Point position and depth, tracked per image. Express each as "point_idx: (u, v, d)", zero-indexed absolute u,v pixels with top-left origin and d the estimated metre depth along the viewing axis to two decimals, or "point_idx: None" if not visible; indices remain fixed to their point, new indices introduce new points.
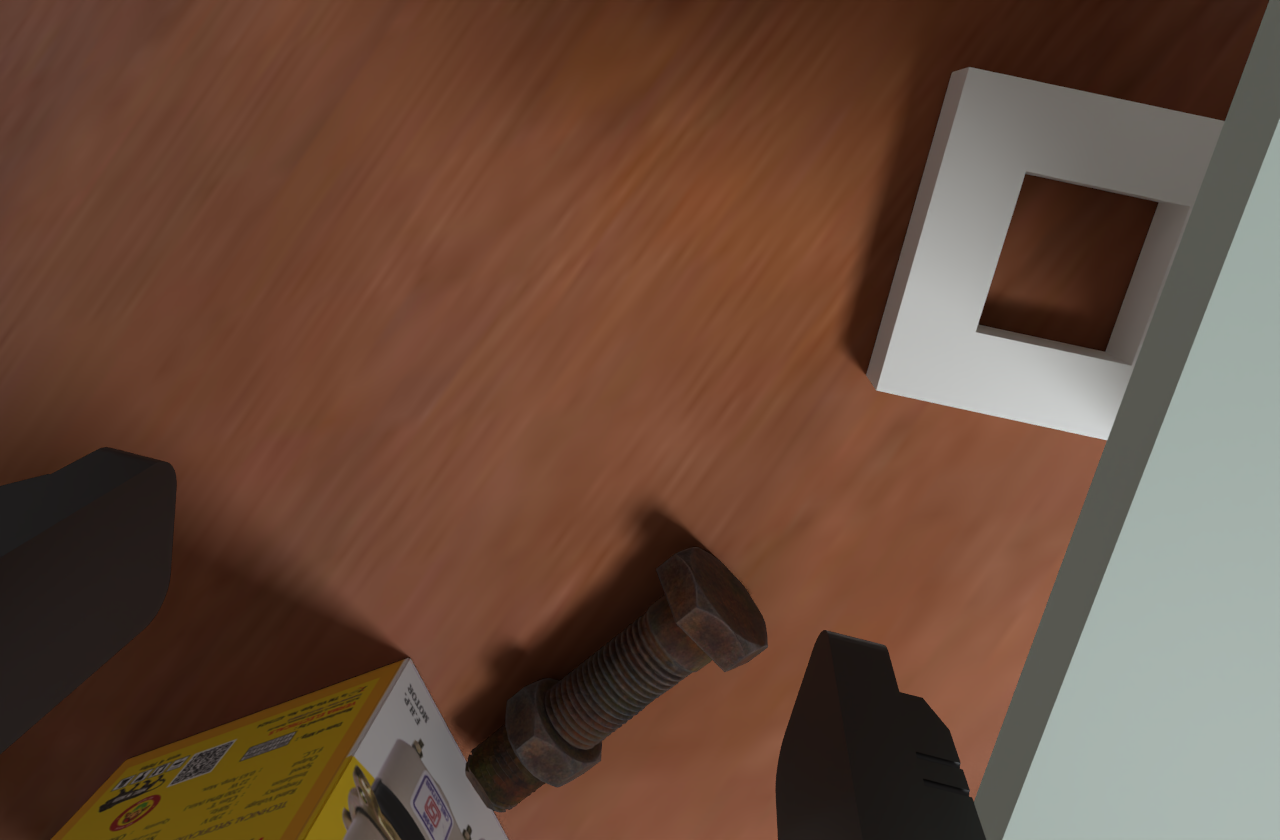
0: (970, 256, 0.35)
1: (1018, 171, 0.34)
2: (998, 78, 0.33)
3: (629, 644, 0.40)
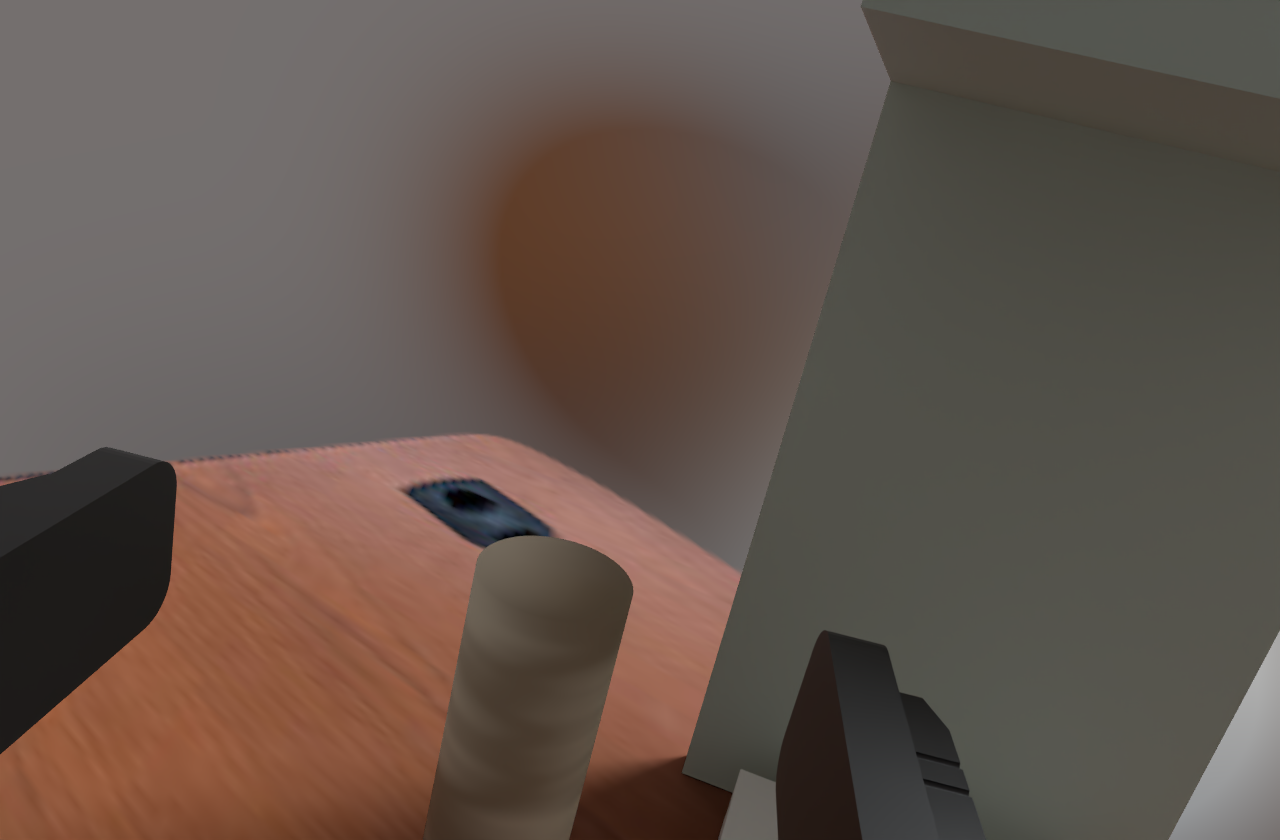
0: None
1: None
2: None
3: None
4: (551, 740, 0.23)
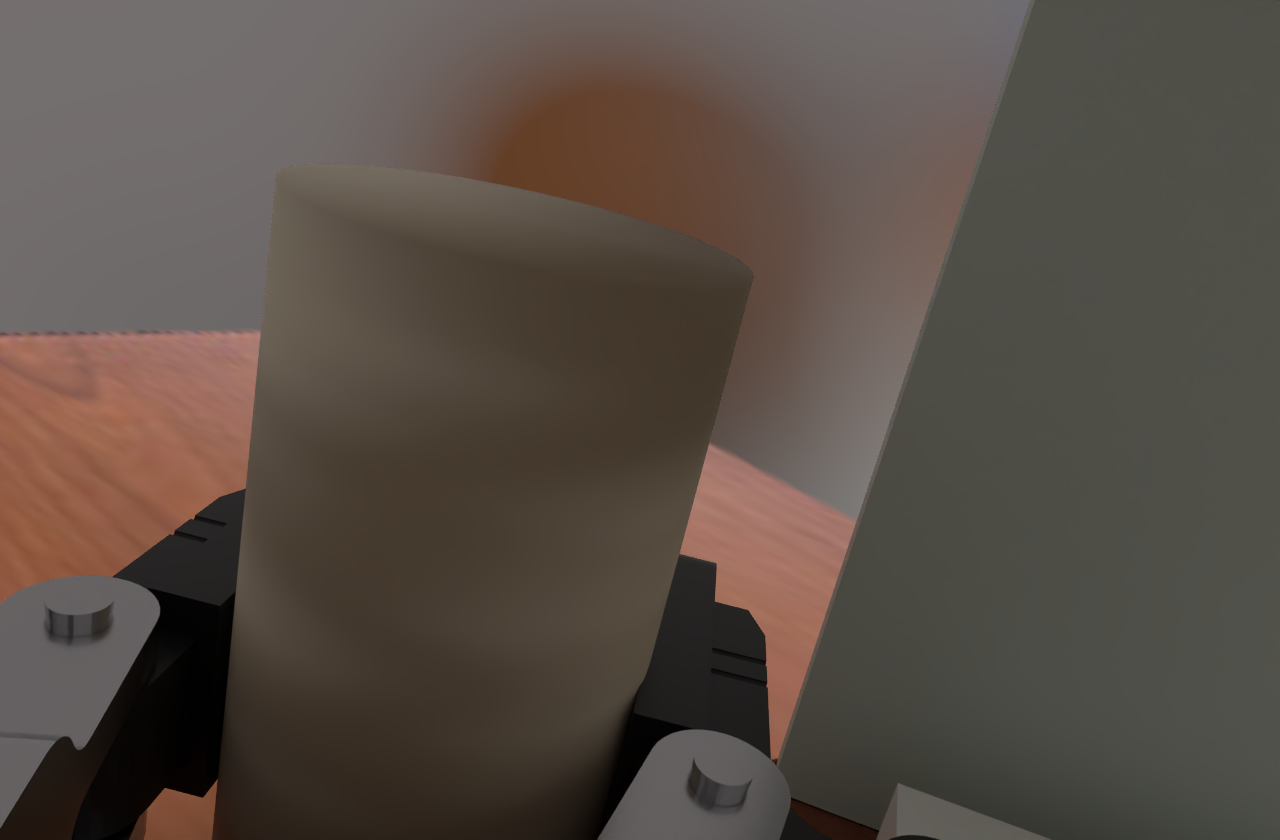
0: None
1: None
2: None
3: None
4: (515, 703, 0.08)
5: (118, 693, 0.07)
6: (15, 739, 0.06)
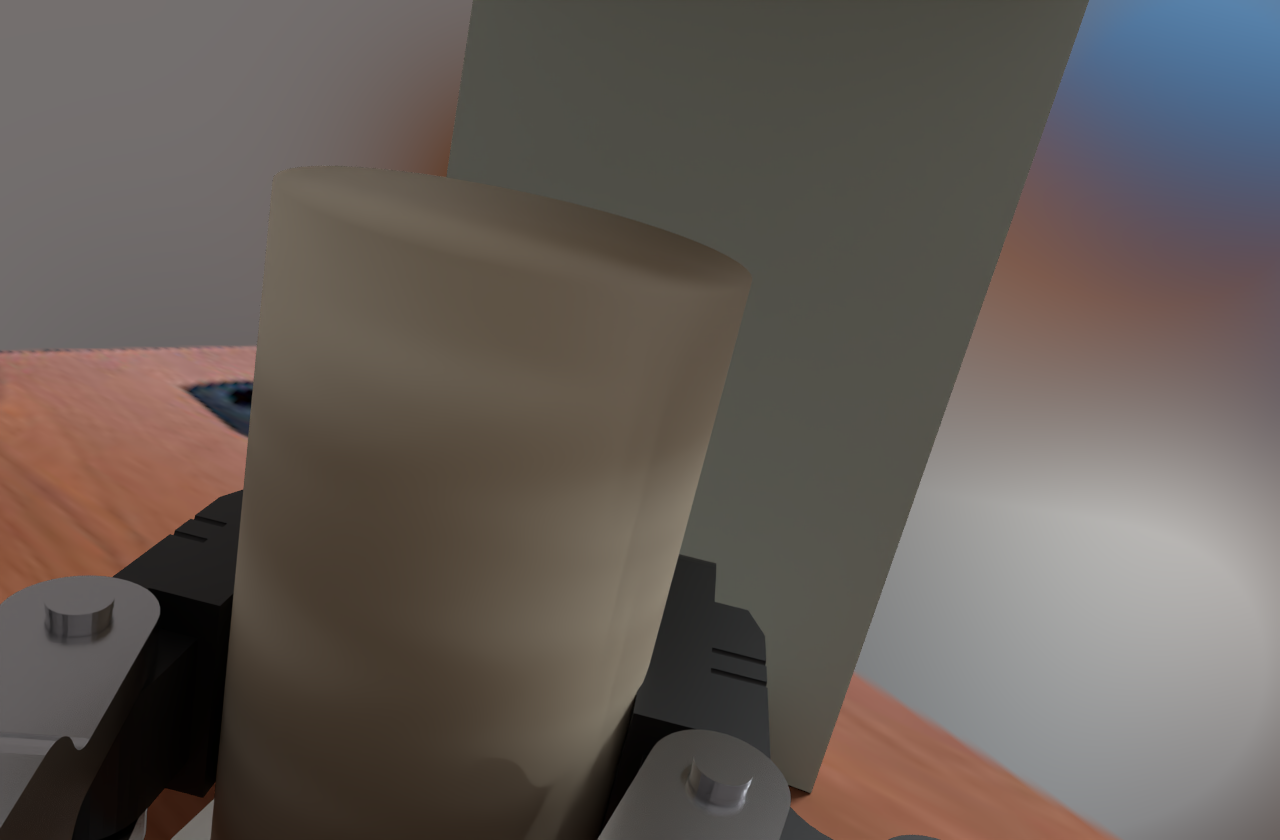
0: None
1: None
2: None
3: None
4: (513, 707, 0.07)
5: (118, 693, 0.07)
6: (16, 739, 0.06)
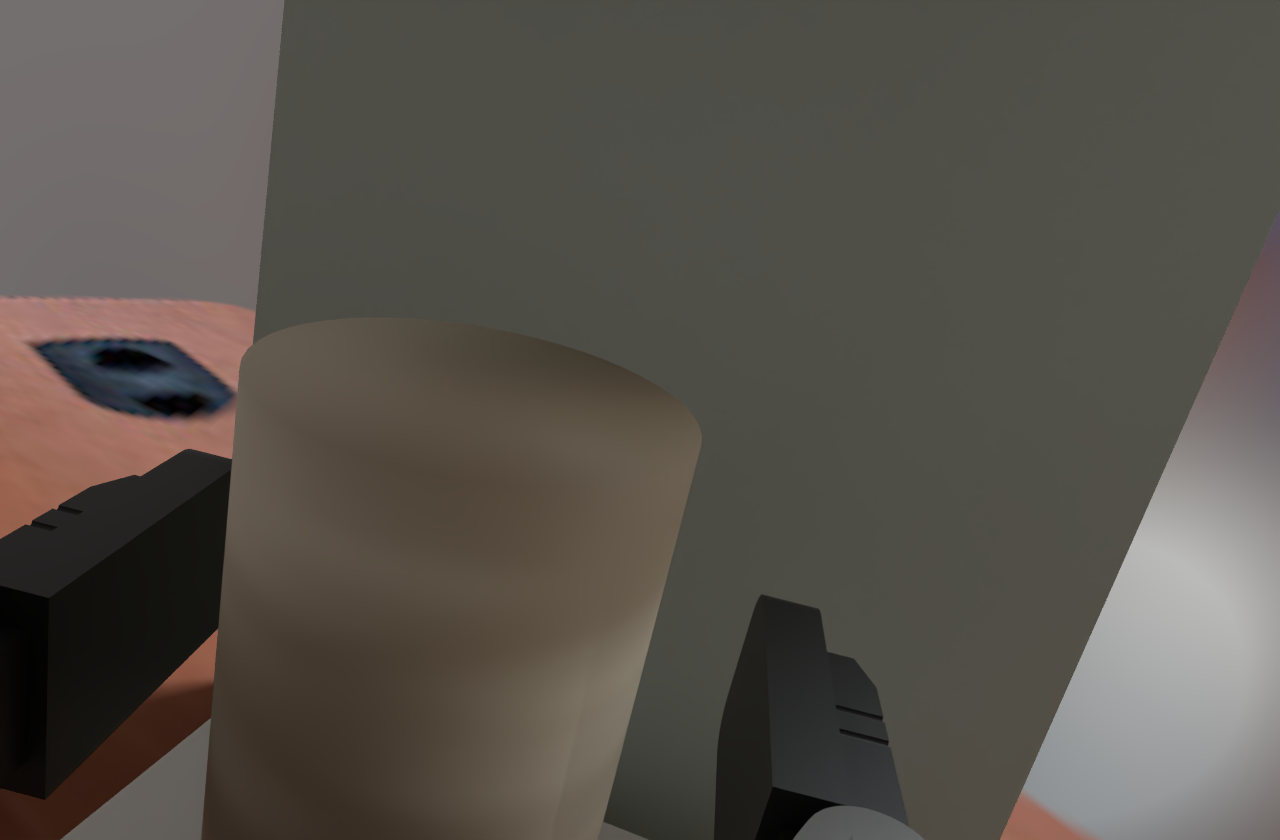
0: None
1: None
2: None
3: None
4: None
5: None
6: None
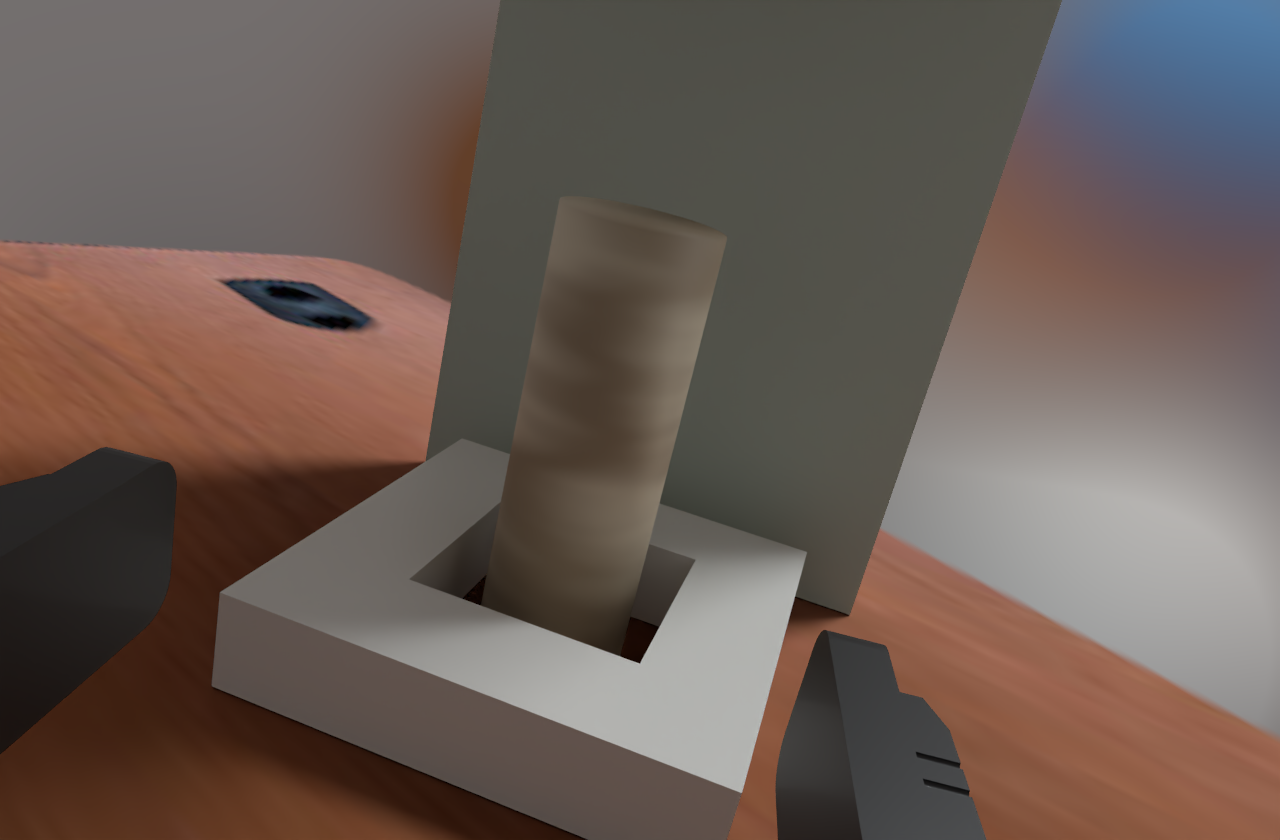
0: (516, 645, 0.21)
1: (405, 584, 0.23)
2: (258, 575, 0.22)
3: None
4: (643, 386, 0.21)
5: None
6: None
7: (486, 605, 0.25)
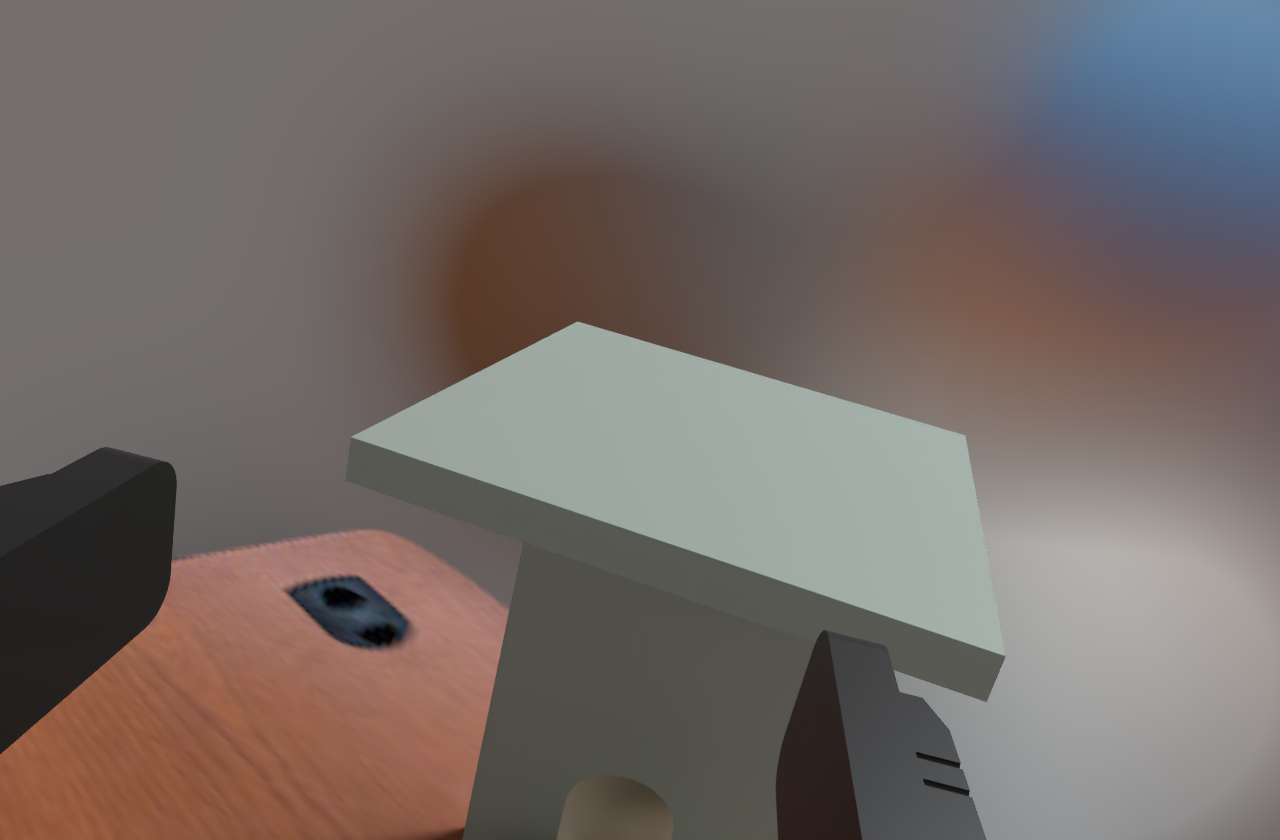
0: None
1: None
2: None
3: None
4: None
5: None
6: None
7: None
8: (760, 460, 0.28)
